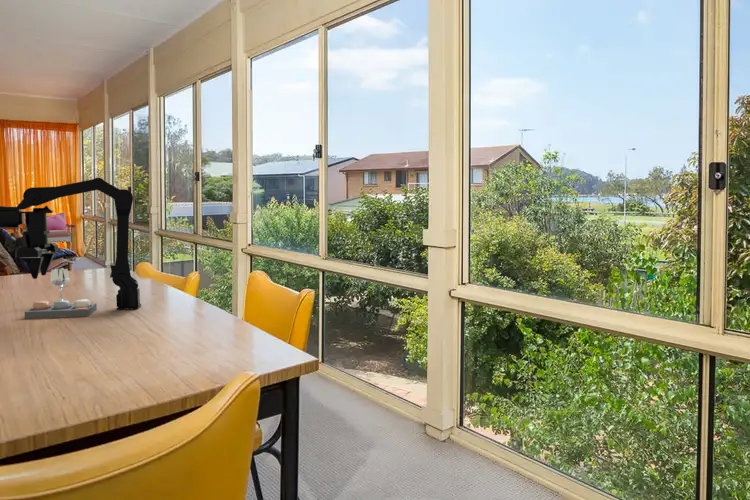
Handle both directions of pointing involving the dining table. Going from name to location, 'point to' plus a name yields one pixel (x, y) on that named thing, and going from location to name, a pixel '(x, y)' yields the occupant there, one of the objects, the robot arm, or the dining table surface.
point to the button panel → (60, 312)
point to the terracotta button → (41, 305)
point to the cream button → (81, 303)
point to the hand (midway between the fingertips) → (39, 277)
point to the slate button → (61, 304)
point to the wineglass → (60, 278)
